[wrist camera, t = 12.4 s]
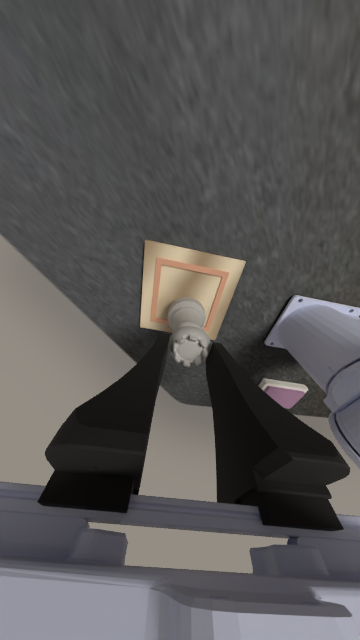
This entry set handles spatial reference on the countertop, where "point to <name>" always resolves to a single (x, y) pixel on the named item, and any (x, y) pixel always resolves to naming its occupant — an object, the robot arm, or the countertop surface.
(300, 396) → the ink pad
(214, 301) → the marked board
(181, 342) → the rook chess piece
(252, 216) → the countertop surface
